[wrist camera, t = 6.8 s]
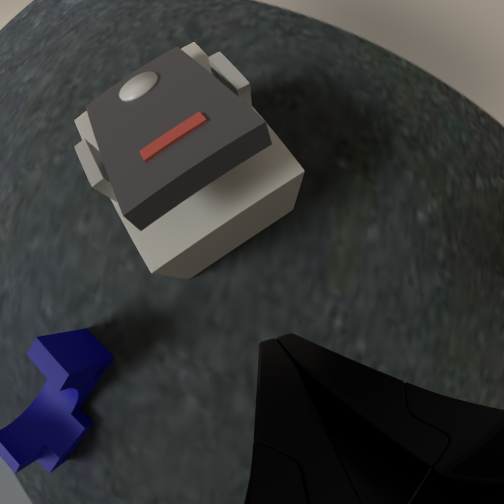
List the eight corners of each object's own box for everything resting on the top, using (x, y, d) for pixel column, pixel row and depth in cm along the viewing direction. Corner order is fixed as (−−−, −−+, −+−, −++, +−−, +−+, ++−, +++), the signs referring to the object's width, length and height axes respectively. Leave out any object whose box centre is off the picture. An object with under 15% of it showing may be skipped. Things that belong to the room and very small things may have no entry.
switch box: (293, 209, 21) (311, 148, 11) (189, 279, 20) (128, 269, 11) (212, 103, 22) (185, 13, 12) (122, 163, 22) (52, 100, 12)
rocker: (271, 144, 11) (265, 118, 10) (141, 231, 11) (120, 214, 10) (185, 62, 15) (175, 44, 13) (97, 120, 15) (84, 104, 13)
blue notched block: (67, 459, 19) (29, 488, 13) (32, 422, 20) (-10, 443, 14) (131, 370, 20) (88, 394, 14) (87, 328, 21) (36, 336, 15)
